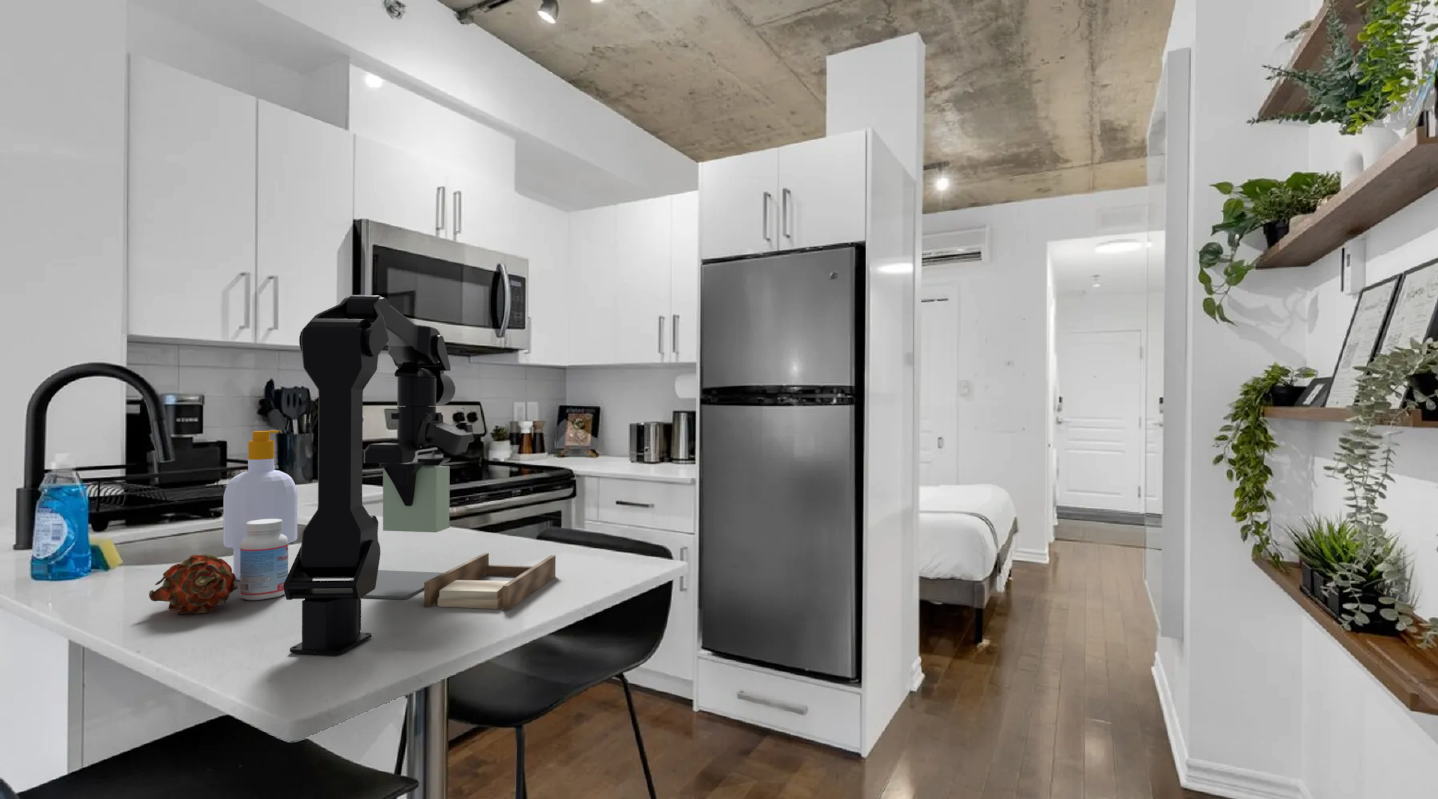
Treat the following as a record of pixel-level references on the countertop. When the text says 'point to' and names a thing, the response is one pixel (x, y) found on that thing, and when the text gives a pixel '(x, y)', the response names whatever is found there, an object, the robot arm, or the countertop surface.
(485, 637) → the countertop surface
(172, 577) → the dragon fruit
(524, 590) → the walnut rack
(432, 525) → the upright mint green block
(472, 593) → the offcut stack
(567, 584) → the countertop surface
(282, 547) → the pill bottle
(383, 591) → the charcoal mat
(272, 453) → the soap bottle
